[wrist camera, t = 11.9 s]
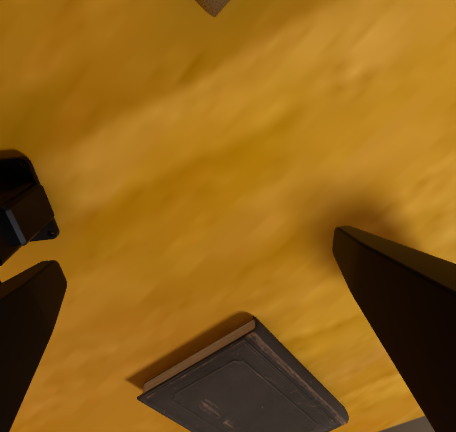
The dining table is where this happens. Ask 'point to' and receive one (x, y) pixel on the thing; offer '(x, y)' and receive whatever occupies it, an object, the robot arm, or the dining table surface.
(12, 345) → the robot arm
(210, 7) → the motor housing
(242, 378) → the hardcover book
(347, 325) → the dining table surface
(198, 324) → the dining table surface
